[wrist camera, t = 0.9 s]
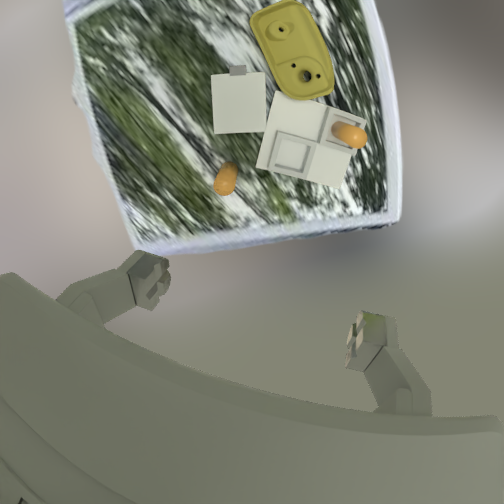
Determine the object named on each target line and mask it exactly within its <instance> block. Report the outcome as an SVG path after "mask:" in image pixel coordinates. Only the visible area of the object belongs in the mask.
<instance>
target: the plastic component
mask: <svg viewBox="0 0 504 504" xmlns="http://www.w3.org/2000/svg"><path fill="white" fill-rule="evenodd" d="M250 26H251V28H252V30H253V32H254V35H255V37H256V39H257V41H258V43H259V45H260V47H261V49H262V51H263V54H264V56H265V58H266V60H267V63H268V65H269V67H270V69H271V72H272V74H273V76H274V78H275V80H276V82H277V84H278V86H279V87H280V89H281V90H282V91H283V92H284V93H285V94H286V95H287V96H289V97H290V98H293V99H295V100H300V101H305V100H310V99H314V98H317V97H320V96H324V95H327V94H330V93H331V92H332V91H333V89H334V72H333V66H332V62H331V58H330V55H329V52H328V49H327V47H326V44H325V42H324V40H323V38H322V35H321V33H320V31H319V29H318V27H317V25H316V23H315V21H314V19H313V17H312V15H311V13H310V12H309V10H308V9H307V8H306V7H305V6H304V5H303V4H302V3H299V2H297V1H295V0H282V1H280V2H277V3H275V4H273V5H270V6H268V7H266V8H263V9H261V10H259V11H257V12H255V13H254V14H253V15H252V16H251V18H250ZM279 28H281V29H283V32H280V31H279ZM294 63H295V64H296V67H295V68H293V67H292V64H294ZM306 71H309V72H310V74H311V80H310V81H309V82H307V81H305V80H304V78H303V75H304V73H305V72H306ZM317 74H320V75H321V77H320V78H319V79H318V76H317Z"/></svg>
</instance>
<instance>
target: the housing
mask: <svg viewBox="0 0 504 504" xmlns="http://www.w3.org/2000/svg"><path fill="white" fill-rule="evenodd" d="M366 121H367V120H364V119H363V118H360V117H358V116H355V115H353V114H350V113H347V112H345V111H342V110H339V109H336V108H333V107H330V106H327V105H324V104H321V103H318V102H315V101H312V100H305V101H300V100H295V99H293V98H290V97H289V96H287V95H286V94H285V93H284V92H280V91H276V90H275V93H274V97H273V101H272V104H271V108H270V112H269V116H268V120H267V125H266V129H265V132H264V135H263V139H262V143H261V147H260V151H259V155H258V159H257V163H256V168H260V169H265V170H269V171H273V172H277V173H281V174H285V175H289V176H293V177H297V178H301V179H304V180H308V181H312V182H315V183H319V184H323V185H326V186H330V187H333V188H336V189H340V187H341V184H342V181H343V178H344V176H345V173H346V170H347V167H348V164H349V161H350V158H351V155H354V156H355V155H356V152H357V149H358V148H362V147H363V146H364V145H365V144H366V142H367V134H366V132H365V131H364V128H365V125H366Z"/></svg>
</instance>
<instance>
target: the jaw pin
mask: <svg viewBox="0 0 504 504" xmlns="http://www.w3.org/2000/svg"><path fill="white" fill-rule="evenodd" d="M237 174H238V167H237V165H236V164H235V163H233V162H225V163H224V164H222V166H221V168H220V170H219V172H218V174H217V177H216V179H215V181H214V190H215V191H216V192H217V193H218V194H220V195H223V196H226V195H229V194H231V193H232V192H233V191H234V188H235V183H236V179H237Z"/></svg>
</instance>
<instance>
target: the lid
mask: <svg viewBox="0 0 504 504" xmlns="http://www.w3.org/2000/svg"><path fill="white" fill-rule="evenodd" d="M229 72H230V74H218V75H211V87H212V105H213V122H214V134H224V133H244V132H265V129H266V125H267V123H266V86H265V72H252V73H246V65H242V66H229Z"/></svg>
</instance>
